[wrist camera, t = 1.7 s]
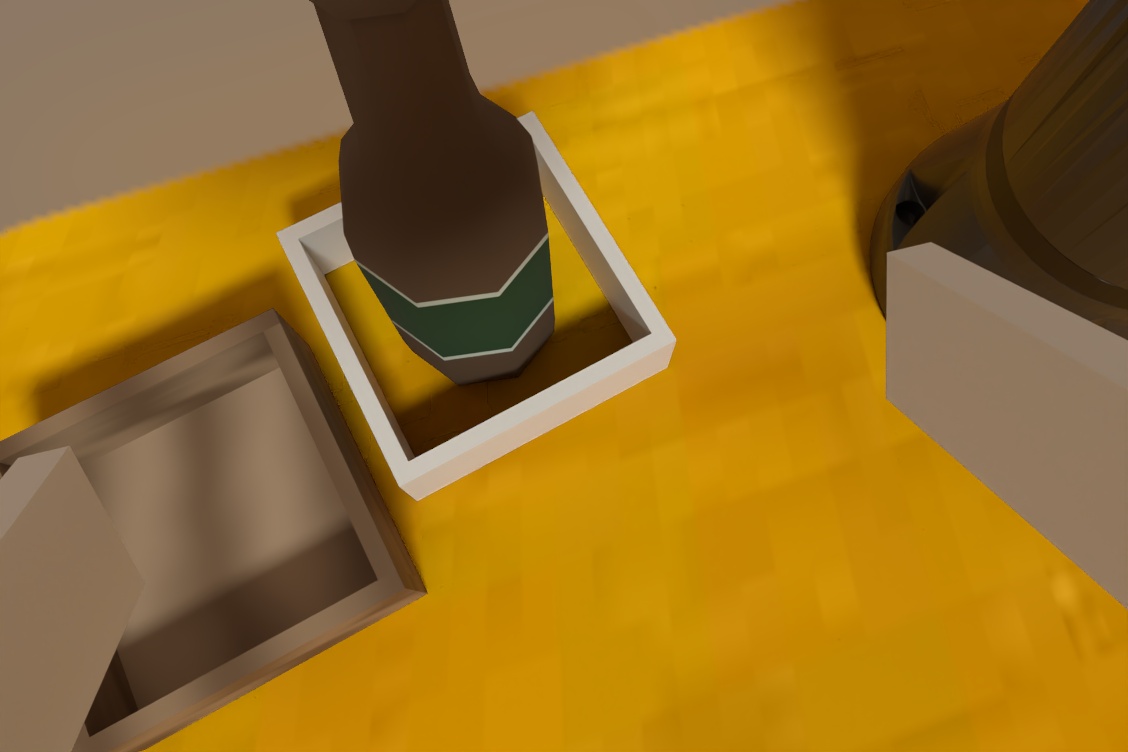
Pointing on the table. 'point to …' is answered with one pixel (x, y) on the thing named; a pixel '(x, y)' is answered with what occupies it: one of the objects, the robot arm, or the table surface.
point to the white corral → (325, 249)
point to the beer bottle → (439, 192)
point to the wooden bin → (227, 526)
